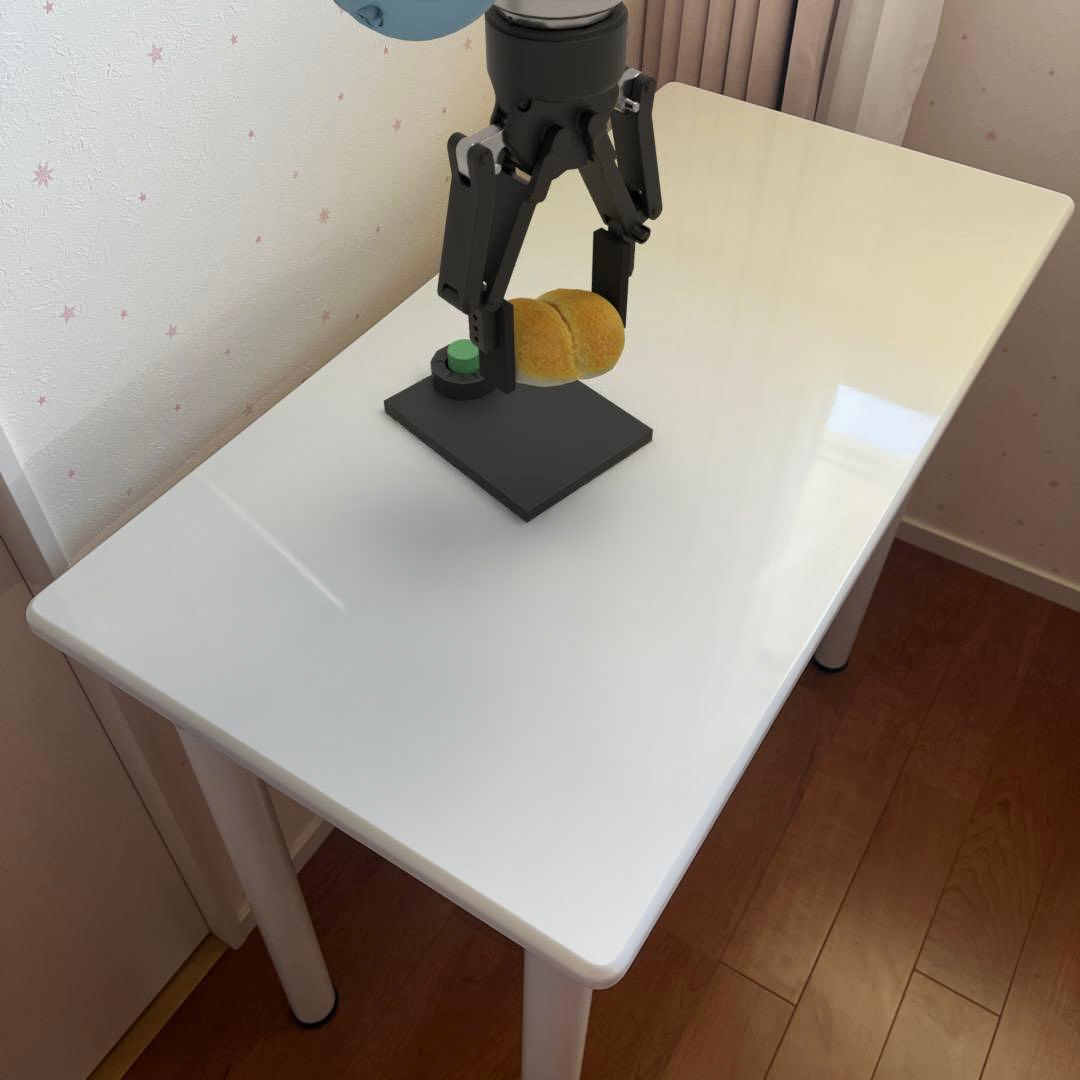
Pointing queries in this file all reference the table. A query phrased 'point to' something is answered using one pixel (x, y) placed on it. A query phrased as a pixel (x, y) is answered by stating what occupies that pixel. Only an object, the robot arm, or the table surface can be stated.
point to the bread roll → (565, 337)
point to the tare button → (463, 357)
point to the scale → (518, 433)
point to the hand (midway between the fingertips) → (554, 350)
